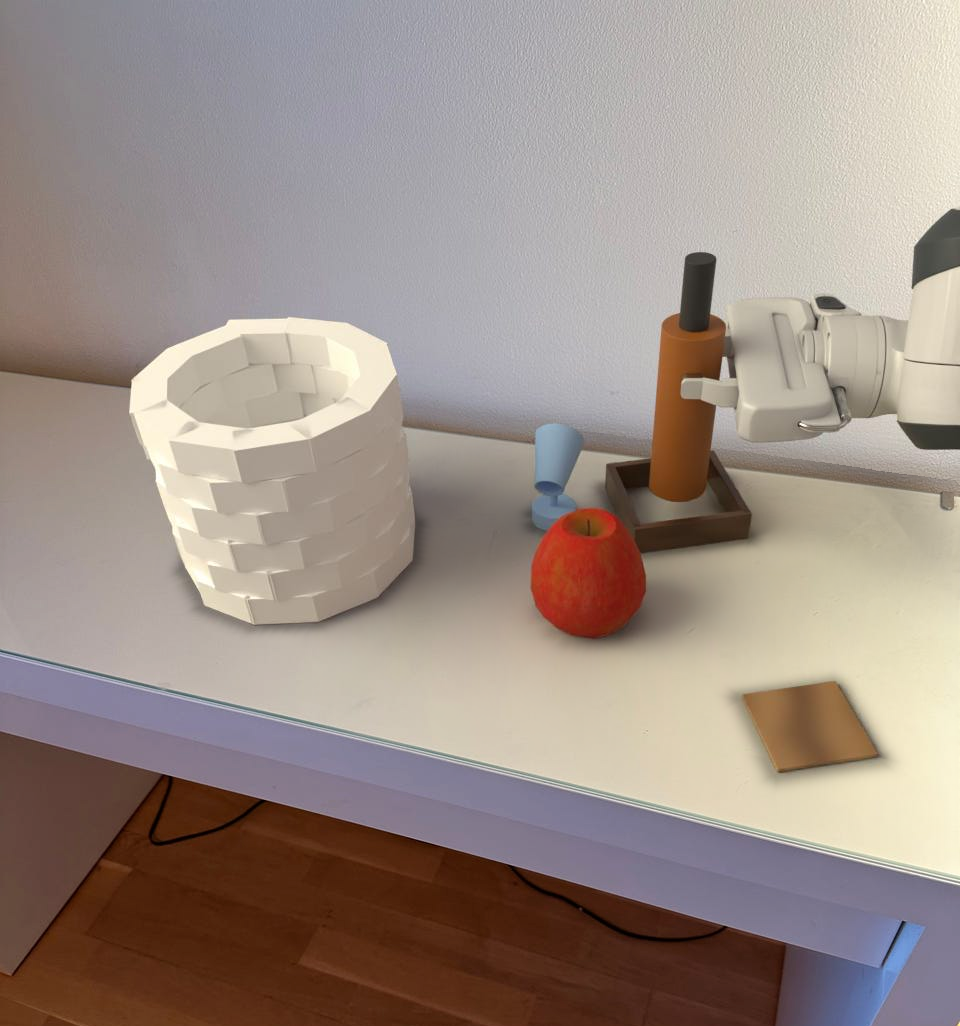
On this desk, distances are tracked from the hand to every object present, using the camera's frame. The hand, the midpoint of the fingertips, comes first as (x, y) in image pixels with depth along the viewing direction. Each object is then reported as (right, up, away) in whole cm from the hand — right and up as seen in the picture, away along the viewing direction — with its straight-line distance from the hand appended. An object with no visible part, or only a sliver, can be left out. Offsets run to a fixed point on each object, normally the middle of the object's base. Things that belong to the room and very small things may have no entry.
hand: (679, 366), depth 87 cm
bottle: (+2, -9, +9) cm, 13 cm away
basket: (-36, -15, +11) cm, 41 cm away
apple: (-8, -22, +1) cm, 24 cm away
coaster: (+8, -32, -11) cm, 34 cm away
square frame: (+2, -12, +11) cm, 16 cm away
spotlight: (-11, -12, +12) cm, 20 cm away
